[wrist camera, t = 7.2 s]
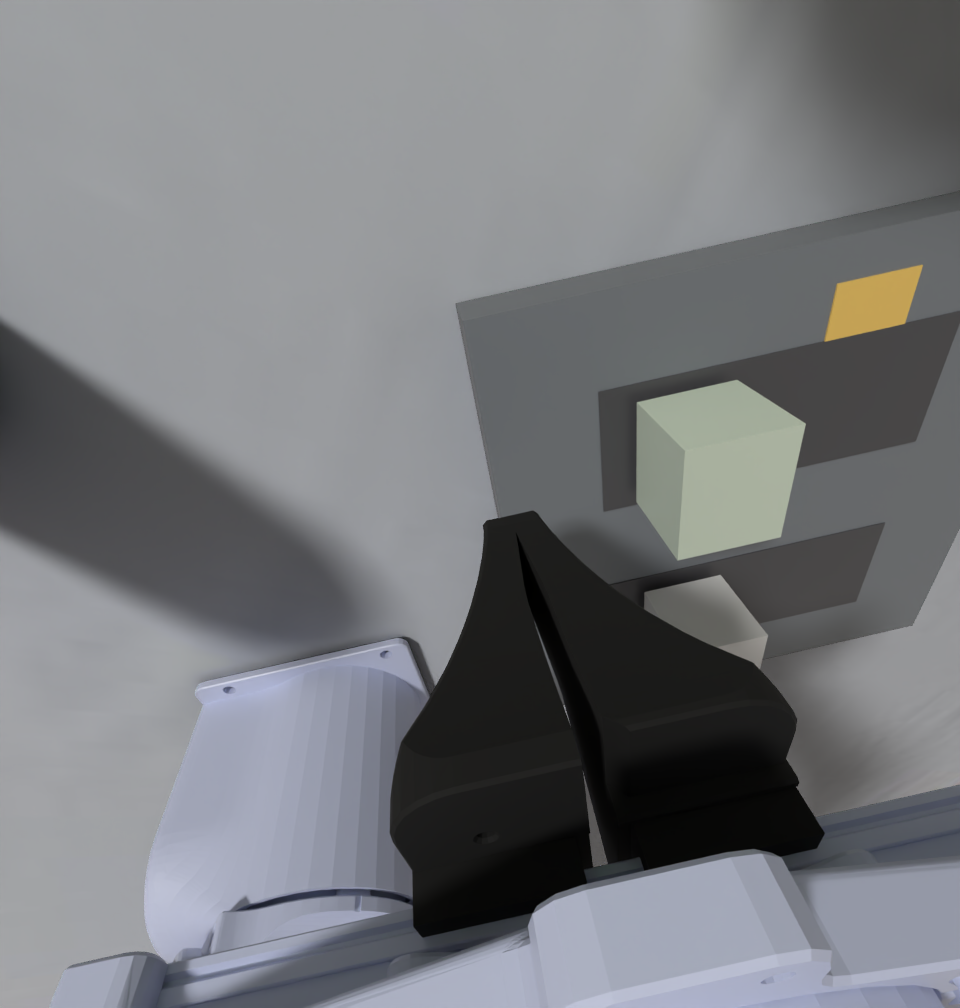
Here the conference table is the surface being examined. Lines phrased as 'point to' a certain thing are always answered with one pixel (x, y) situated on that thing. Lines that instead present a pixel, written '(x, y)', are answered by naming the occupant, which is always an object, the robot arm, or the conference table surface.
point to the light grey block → (710, 616)
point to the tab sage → (715, 467)
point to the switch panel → (770, 372)
